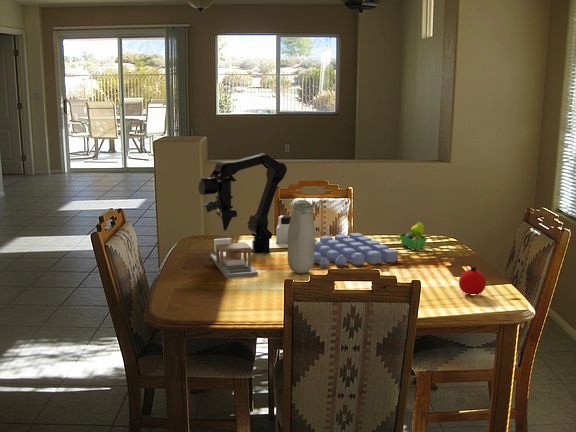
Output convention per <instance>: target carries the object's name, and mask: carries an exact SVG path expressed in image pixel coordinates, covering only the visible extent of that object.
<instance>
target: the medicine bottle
mask: <svg viewBox="0 0 576 432" xmlns="http://www.w3.org/2000/svg"><path fill="white" fill-rule="evenodd" d="M277 219H278V221H277V222H278V223H277V226H276V228H275V229H276V230H275V231H276V232H275V235H276V236H275V237H276V238H275V239H276V240H275V241H276V244H287V245H288V228H289V224H290V220H291V215H289V214H284V215H283V214H282V215H280V216H278V218H277Z"/></svg>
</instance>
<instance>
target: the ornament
mask: <svg viewBox="0 0 576 432" xmlns="http://www.w3.org/2000/svg"><path fill="white" fill-rule="evenodd" d="M458 285H459V288H460V290H461V291H462V293H464V292H465V293H468V294H479V293H480V294H482V293H483V292H484V291H485V288H486V285H487V281H486V278H485V275H484V274H483V273H482V272H480V271H479V270H477V267H475V266H471V267H470V269H468V270H466V271H463V272H462V274H461V275H460V276H459V280H458ZM465 293H464V294H465ZM480 294H479V295H480Z"/></svg>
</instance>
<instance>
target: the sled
mask: <svg viewBox="0 0 576 432" xmlns="http://www.w3.org/2000/svg"><path fill="white" fill-rule="evenodd" d="M213 242H214V243H213V249H214V250H213V251H214V252H215V253H216V245H218V244H232V237H226V238H214V239H213ZM219 257H220V251H219ZM223 262H224V263H225V264H226V265H227V266H235V265H245V262H244V259H238V260H226V252H223Z"/></svg>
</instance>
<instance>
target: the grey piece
mask: <svg viewBox="0 0 576 432" xmlns="http://www.w3.org/2000/svg"><path fill="white" fill-rule="evenodd" d="M219 251H220V257H219ZM230 251H241V252H242V251H243V255H242V254H241V259H244V262H245V265H235V266H227V265H226V264H225V263H224V262H223V252H230ZM209 257H210V259H211V260H212V262H213V263H214V264H215V266H216V267H217V268H218V270H219V271H220V273H222V275H223V276H224V277H225V279H238V278H248V277H259V271H257V269H256V268H255V267H254V266H253V264H252V246H250V245H249V244H248V243H247V242H237V243H234V242H233V243H231V244H218V245H216V252H215V253H210V256H209Z"/></svg>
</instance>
